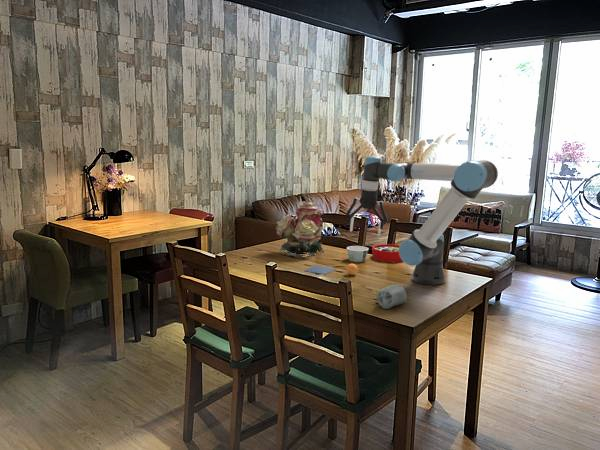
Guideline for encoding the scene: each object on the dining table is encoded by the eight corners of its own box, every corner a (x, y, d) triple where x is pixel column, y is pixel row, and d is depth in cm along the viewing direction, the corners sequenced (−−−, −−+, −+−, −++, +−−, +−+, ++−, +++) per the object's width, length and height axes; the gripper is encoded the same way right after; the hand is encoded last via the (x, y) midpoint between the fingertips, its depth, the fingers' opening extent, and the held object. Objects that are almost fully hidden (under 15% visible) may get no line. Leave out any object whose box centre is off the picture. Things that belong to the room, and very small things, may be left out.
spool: (390, 305, 193) (387, 280, 196) (372, 310, 200) (369, 285, 203) (414, 307, 201) (410, 283, 204) (396, 312, 208) (393, 288, 211)
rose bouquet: (271, 250, 298) (271, 199, 293) (316, 246, 309) (317, 197, 304) (287, 260, 275) (287, 205, 269) (335, 256, 286) (336, 203, 281)
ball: (359, 274, 248) (359, 263, 248) (355, 276, 244) (355, 265, 243) (348, 272, 251) (349, 261, 250) (344, 275, 246) (344, 264, 245)
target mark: (336, 269, 258) (336, 268, 258) (326, 274, 247) (326, 274, 247) (314, 266, 263) (314, 265, 263) (304, 271, 253) (304, 270, 253)
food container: (341, 259, 279) (341, 247, 278) (357, 256, 286) (357, 244, 285) (356, 263, 269) (357, 251, 268) (372, 260, 277) (373, 248, 275)
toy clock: (407, 244, 291) (410, 252, 271) (406, 254, 292) (410, 263, 272) (372, 243, 293) (373, 251, 274) (371, 253, 294) (372, 261, 275)
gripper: (397, 191, 238) (392, 235, 243) (346, 185, 246) (341, 227, 251) (394, 193, 232) (389, 238, 236) (342, 187, 239) (337, 230, 244)
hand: (364, 233), depth 244 cm, fingers open, 13 cm apart
